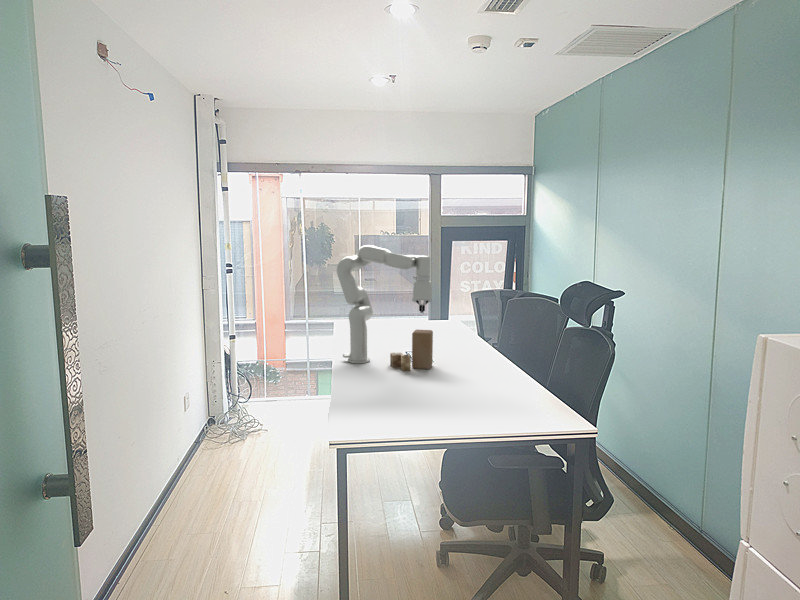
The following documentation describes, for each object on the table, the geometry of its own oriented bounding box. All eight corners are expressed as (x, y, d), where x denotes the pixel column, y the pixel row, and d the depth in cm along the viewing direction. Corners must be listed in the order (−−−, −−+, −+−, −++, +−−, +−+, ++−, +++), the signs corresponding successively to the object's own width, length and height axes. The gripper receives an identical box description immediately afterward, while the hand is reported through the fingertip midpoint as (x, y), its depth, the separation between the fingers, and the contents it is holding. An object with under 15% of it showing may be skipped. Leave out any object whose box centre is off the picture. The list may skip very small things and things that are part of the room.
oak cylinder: (401, 371, 299) (401, 356, 298) (401, 368, 304) (401, 354, 303) (410, 371, 299) (410, 356, 298) (410, 368, 304) (410, 354, 303)
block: (429, 369, 302) (430, 333, 300) (411, 368, 304) (411, 332, 302) (432, 365, 312) (433, 329, 309) (414, 364, 314) (415, 329, 311)
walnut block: (392, 368, 306) (392, 355, 305) (390, 365, 312) (390, 352, 311) (403, 367, 307) (403, 354, 306) (400, 364, 313) (400, 352, 312)
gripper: (408, 279, 298) (408, 313, 301) (437, 279, 298) (435, 313, 300) (408, 277, 306) (408, 311, 308) (436, 278, 305) (435, 311, 308)
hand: (421, 312), depth 304 cm, fingers closed
